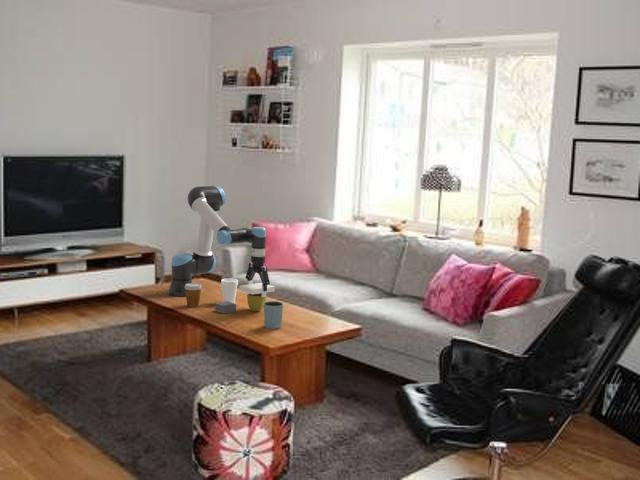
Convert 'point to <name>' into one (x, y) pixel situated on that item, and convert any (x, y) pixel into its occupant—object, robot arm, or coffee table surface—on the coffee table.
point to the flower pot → (256, 301)
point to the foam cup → (229, 289)
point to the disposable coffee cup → (193, 294)
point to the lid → (255, 288)
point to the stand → (225, 307)
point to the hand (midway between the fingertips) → (256, 294)
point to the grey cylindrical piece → (273, 314)
